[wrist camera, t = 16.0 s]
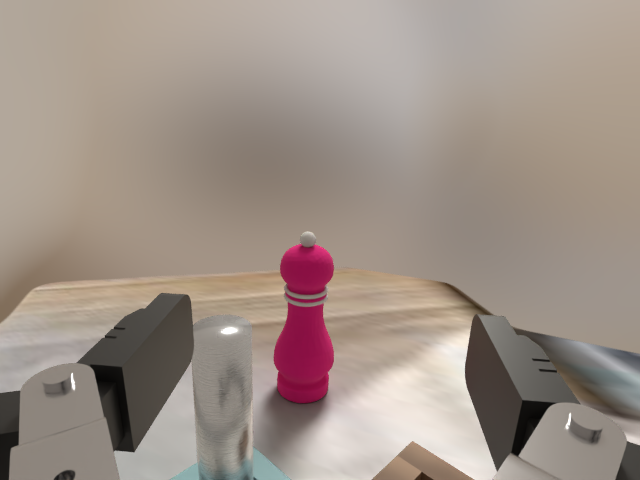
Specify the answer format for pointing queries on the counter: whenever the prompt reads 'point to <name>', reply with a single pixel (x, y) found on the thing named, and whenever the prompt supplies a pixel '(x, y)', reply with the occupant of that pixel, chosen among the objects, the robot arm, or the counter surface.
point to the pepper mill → (304, 323)
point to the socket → (264, 471)
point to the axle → (223, 397)
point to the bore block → (419, 467)
